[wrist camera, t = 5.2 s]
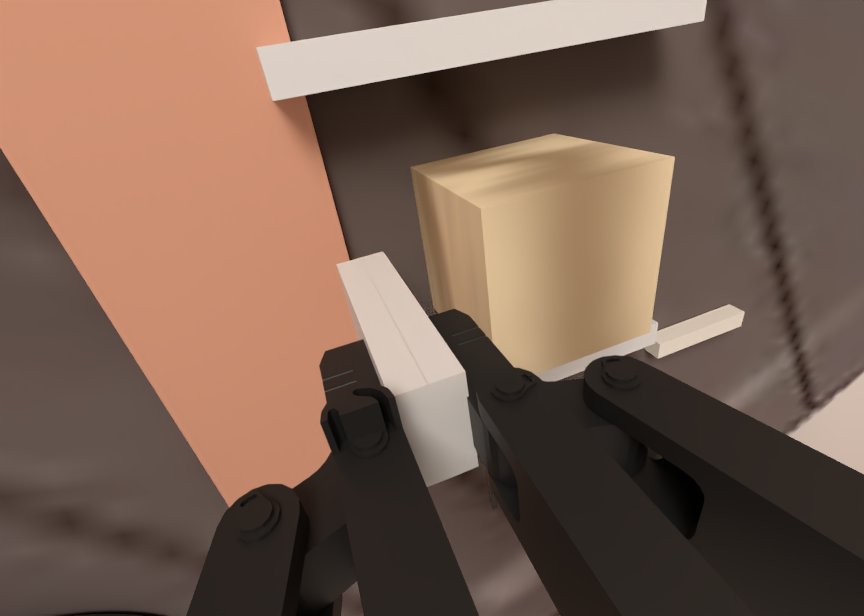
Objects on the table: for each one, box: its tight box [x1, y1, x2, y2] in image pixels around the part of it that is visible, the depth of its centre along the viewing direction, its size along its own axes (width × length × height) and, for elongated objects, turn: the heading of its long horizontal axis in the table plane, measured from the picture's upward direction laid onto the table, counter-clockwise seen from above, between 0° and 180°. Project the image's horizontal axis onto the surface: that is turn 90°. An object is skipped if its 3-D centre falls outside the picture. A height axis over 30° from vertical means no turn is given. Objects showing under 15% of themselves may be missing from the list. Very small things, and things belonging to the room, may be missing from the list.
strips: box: [645, 304, 745, 358], centre depth 20 cm, size 6×20×1 cm, turn 9°
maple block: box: [410, 134, 675, 375], centre depth 15 cm, size 6×6×6 cm
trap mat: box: [0, 0, 359, 507], centre depth 15 cm, size 8×28×1 cm, turn 9°
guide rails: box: [256, 0, 707, 382], centre depth 17 cm, size 14×14×2 cm
